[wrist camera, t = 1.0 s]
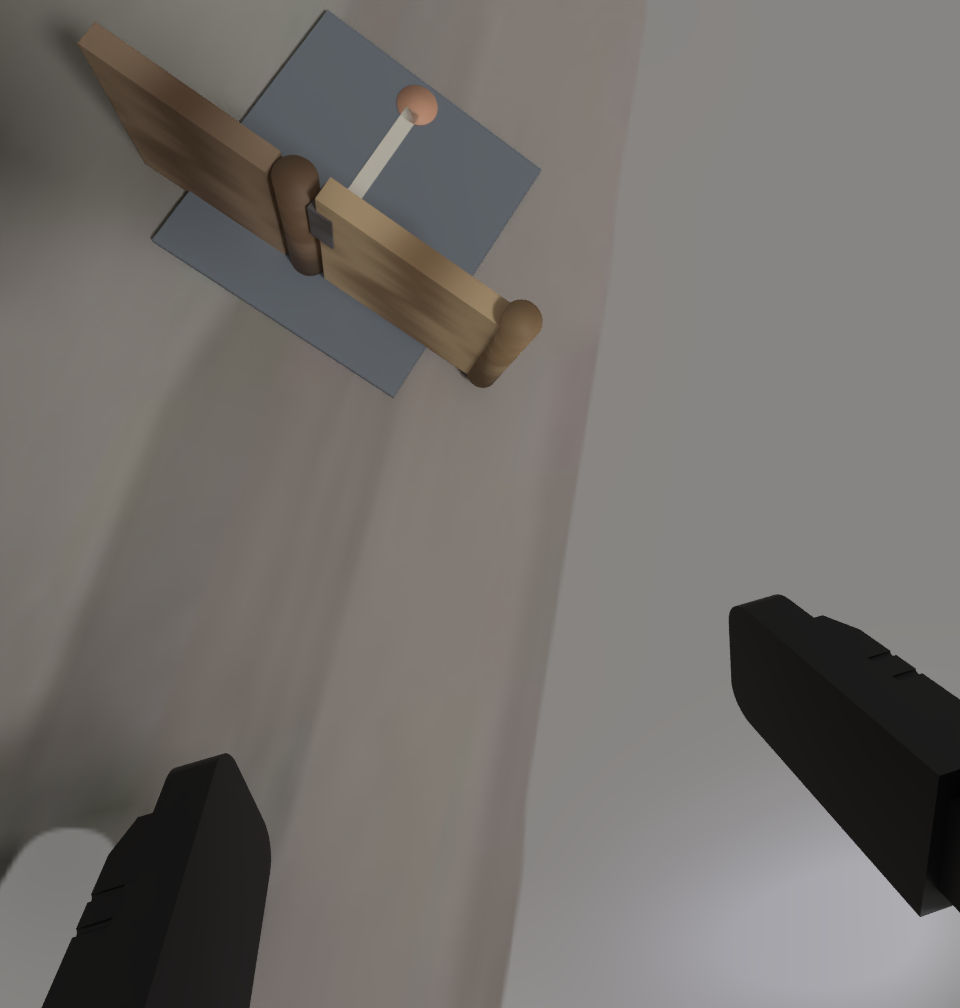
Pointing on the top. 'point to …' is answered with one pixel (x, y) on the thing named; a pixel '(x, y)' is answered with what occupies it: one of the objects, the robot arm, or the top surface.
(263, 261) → the board
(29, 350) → the top surface
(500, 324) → the fence gate
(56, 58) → the top surface
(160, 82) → the fence fixed
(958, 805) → the robot arm
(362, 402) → the top surface
